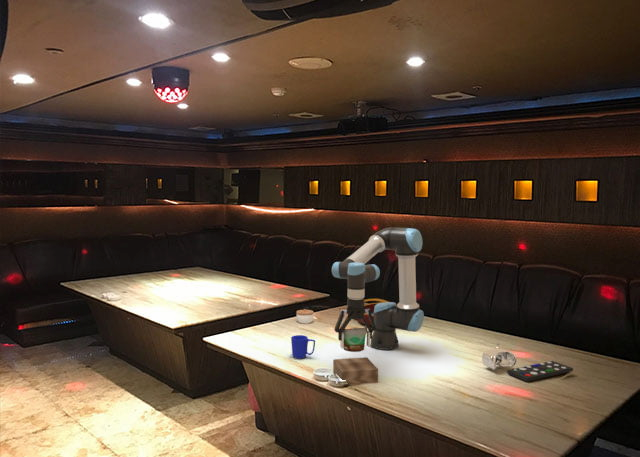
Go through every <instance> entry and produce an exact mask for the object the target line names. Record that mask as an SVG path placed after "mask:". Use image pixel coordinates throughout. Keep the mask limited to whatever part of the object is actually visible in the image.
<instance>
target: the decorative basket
mask: <svg viewBox="0 0 640 457" xmlns="http://www.w3.org/2000/svg"><path fill="white" fill-rule="evenodd" d="M372 301H373V302H372ZM375 301H376V302H375ZM367 302H371V303H367ZM384 302H389V301H388V300H385V299H383V298H382V299H381V298H368V299H364V309H368V308H369V309H370V310H371V315H372V318H373V320H374V308H375V305H376V304H379V303H384ZM363 317H364V318H365V320H366V321H367V323H368V324H369V326H371V323H370V320H369V318H368V315H367V314H366V312H365V313H364V314H363ZM356 320H357V321H358V322H359V323H361V324H364V323H363V321H362V320H361V318H360V319H356Z"/></svg>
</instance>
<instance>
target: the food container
mask: <svg viewBox="0 0 640 457" xmlns="http://www.w3.org/2000/svg"><path fill="white" fill-rule="evenodd" d="M367 331H368V329H367V327H366V326H365V325H364V327H351V328H345V329H344V331H343V333H344V348H343V350H344V351H346V352H351V353H360V352H363V351H365V344H366V337H367Z"/></svg>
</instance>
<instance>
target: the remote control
mask: <svg viewBox="0 0 640 457" xmlns="http://www.w3.org/2000/svg"><path fill="white" fill-rule="evenodd" d="M573 371H574V368H573V367H571V366H568V365H565V364H562V363H560V362H557V361H554V360H550V361H545V362H540V363H534V364H530V365H526V366H521V367H517V368H512V369H508V370H507V372H506V374H508V375H511V376H513V377H515V378H518V379H520V380H522V381H525V382H531V381H532V382H533V381H536V380H540V379H544V378H549V377H554V376H558V375H562V374H567V373H571V372H573Z"/></svg>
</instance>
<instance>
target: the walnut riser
mask: <svg viewBox="0 0 640 457" xmlns="http://www.w3.org/2000/svg"><path fill="white" fill-rule="evenodd" d="M332 367H333V368H332V372H333V374H334V375H335V374H337V375H338V376H339V377H340V378H341V379H342V380H346V381H347V383H348V385H347V386H353V385H361V384H375V383H377V384H378V383H379V369H378V367H377V366H376V365H375V364H374V363H373V362H372V361H371V360H370V359H369V358H368V357H367V356H366V357H365V356H364V357H353V358H351V357H350V358H334V359H333V366H332Z"/></svg>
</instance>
